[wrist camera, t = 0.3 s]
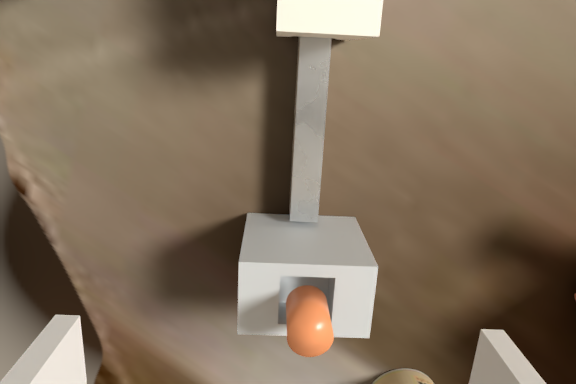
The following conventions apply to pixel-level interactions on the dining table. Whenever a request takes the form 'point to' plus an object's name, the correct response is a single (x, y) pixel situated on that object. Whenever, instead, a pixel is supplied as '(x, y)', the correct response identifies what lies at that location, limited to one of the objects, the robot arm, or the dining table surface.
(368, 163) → the dining table surface
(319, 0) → the block
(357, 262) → the grey block with recess
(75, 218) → the dining table surface
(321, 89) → the rail
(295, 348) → the button
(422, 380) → the coffee cup
